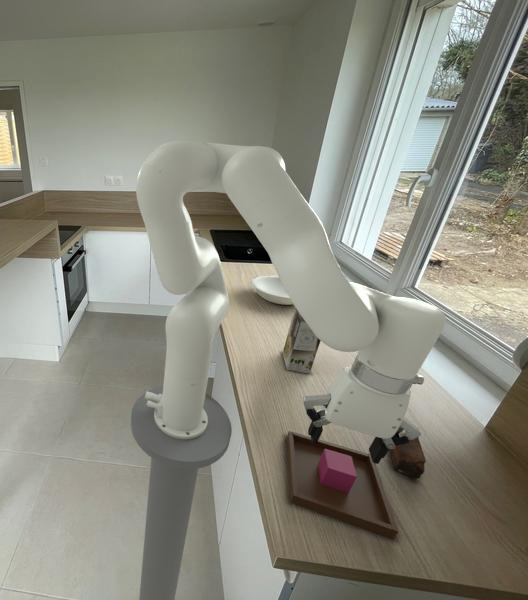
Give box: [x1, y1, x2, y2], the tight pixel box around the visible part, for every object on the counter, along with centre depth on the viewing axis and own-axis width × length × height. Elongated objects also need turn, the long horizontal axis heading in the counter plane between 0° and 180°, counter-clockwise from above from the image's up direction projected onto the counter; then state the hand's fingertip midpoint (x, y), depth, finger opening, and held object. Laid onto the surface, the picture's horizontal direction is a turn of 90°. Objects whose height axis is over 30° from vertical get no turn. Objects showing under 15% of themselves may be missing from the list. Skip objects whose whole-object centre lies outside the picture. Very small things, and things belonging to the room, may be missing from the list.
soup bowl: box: [250, 274, 294, 306], centre depth 135 cm, size 24×24×7 cm
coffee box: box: [282, 307, 322, 374], centre depth 93 cm, size 9×6×16 cm
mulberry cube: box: [318, 449, 357, 493], centre depth 61 cm, size 5×5×5 cm
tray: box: [286, 430, 399, 540], centre depth 61 cm, size 16×16×2 cm
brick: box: [389, 427, 426, 480], centre depth 66 cm, size 11×4×5 cm, turn 151°
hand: (342, 447), depth 58 cm, fingers open, 9 cm apart
